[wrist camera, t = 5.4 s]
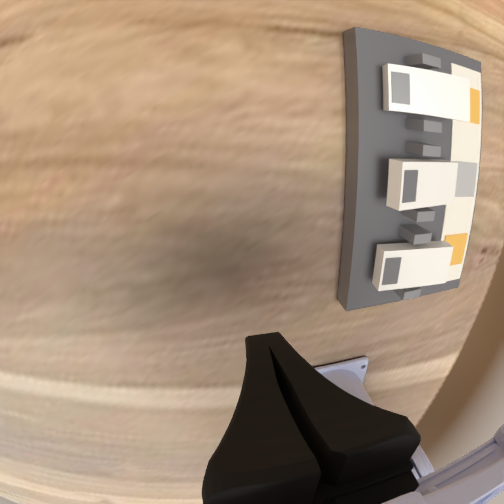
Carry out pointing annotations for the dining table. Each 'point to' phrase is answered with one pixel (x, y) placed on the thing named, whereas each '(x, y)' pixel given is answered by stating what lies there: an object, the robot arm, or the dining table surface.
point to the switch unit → (401, 147)
